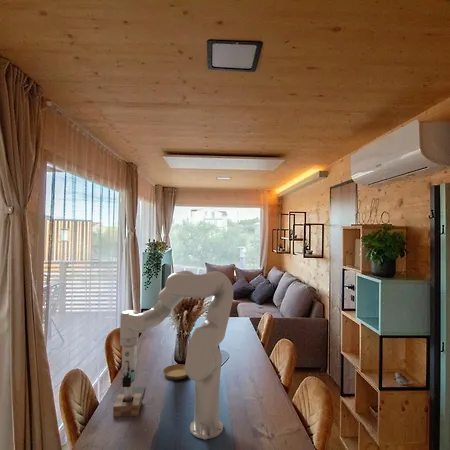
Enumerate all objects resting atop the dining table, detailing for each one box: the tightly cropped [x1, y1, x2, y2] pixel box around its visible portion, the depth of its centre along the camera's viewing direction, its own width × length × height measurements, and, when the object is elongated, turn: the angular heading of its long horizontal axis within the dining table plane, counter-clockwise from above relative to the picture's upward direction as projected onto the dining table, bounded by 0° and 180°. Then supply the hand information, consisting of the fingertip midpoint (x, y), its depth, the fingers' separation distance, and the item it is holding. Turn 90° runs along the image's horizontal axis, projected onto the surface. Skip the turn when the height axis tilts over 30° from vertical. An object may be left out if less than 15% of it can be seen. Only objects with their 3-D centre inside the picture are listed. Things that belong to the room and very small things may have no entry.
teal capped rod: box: [121, 370, 136, 402], centre depth 136 cm, size 5×5×15 cm
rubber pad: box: [120, 386, 146, 399], centre depth 149 cm, size 10×10×1 cm
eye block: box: [112, 393, 143, 417], centre depth 136 cm, size 10×10×4 cm
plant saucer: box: [162, 363, 188, 380], centre depth 169 cm, size 15×15×3 cm
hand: (128, 381), depth 136 cm, fingers open, 8 cm apart
